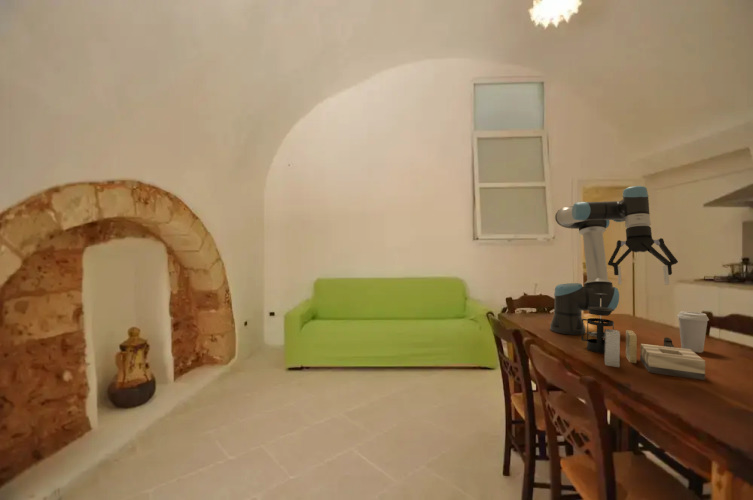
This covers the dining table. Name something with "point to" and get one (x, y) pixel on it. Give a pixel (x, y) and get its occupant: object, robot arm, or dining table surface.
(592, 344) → the french press
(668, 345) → the hand tool
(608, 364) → the square bit
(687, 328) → the coffee cup
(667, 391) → the dining table surface
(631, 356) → the beige rectangular slab
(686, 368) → the bore block
